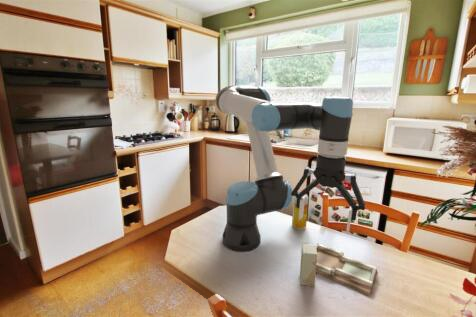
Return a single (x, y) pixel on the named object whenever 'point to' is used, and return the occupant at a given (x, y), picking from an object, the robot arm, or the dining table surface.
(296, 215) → the glass of beer
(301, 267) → the box
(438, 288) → the dining table surface
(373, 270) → the shallow beige tray
